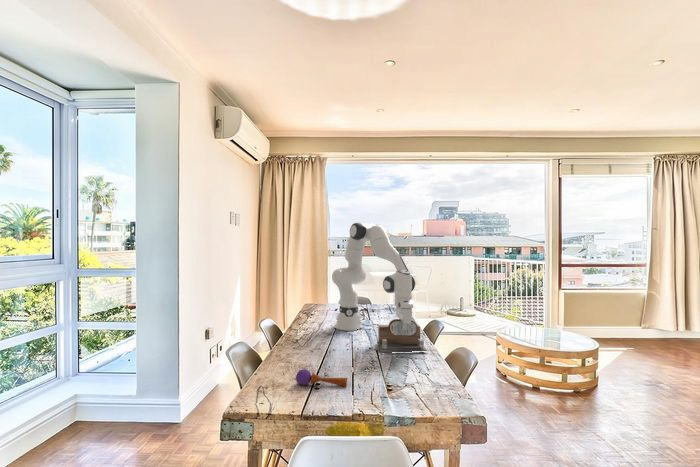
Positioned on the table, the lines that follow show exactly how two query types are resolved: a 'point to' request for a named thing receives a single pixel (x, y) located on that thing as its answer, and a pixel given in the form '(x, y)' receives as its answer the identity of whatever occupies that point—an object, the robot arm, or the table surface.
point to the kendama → (317, 379)
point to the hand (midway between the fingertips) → (402, 328)
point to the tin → (396, 328)
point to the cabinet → (398, 341)
